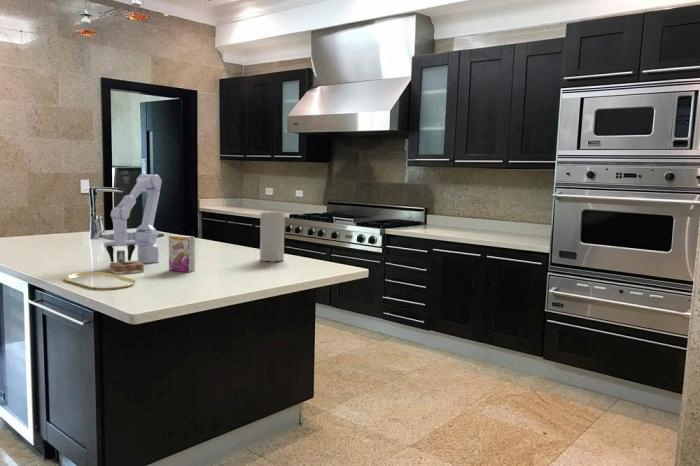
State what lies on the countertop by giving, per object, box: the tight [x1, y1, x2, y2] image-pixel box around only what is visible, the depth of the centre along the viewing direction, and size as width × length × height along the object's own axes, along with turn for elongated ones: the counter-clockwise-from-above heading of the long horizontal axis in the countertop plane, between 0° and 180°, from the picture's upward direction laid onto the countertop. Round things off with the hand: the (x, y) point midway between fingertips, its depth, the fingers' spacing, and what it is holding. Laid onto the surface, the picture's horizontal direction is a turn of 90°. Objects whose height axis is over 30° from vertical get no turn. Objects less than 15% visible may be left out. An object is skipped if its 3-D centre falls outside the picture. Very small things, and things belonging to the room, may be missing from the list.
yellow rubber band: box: [64, 271, 136, 290], centre depth 227 cm, size 19×35×2 cm, turn 54°
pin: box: [116, 249, 126, 263], centre depth 258 cm, size 4×4×8 cm
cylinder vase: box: [259, 211, 285, 263], centre depth 289 cm, size 12×12×25 cm
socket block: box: [109, 260, 145, 275], centre depth 250 cm, size 12×10×4 cm
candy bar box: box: [168, 234, 196, 273], centre depth 254 cm, size 11×5×16 cm, turn 71°
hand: (120, 261), depth 258 cm, fingers open, 7 cm apart
